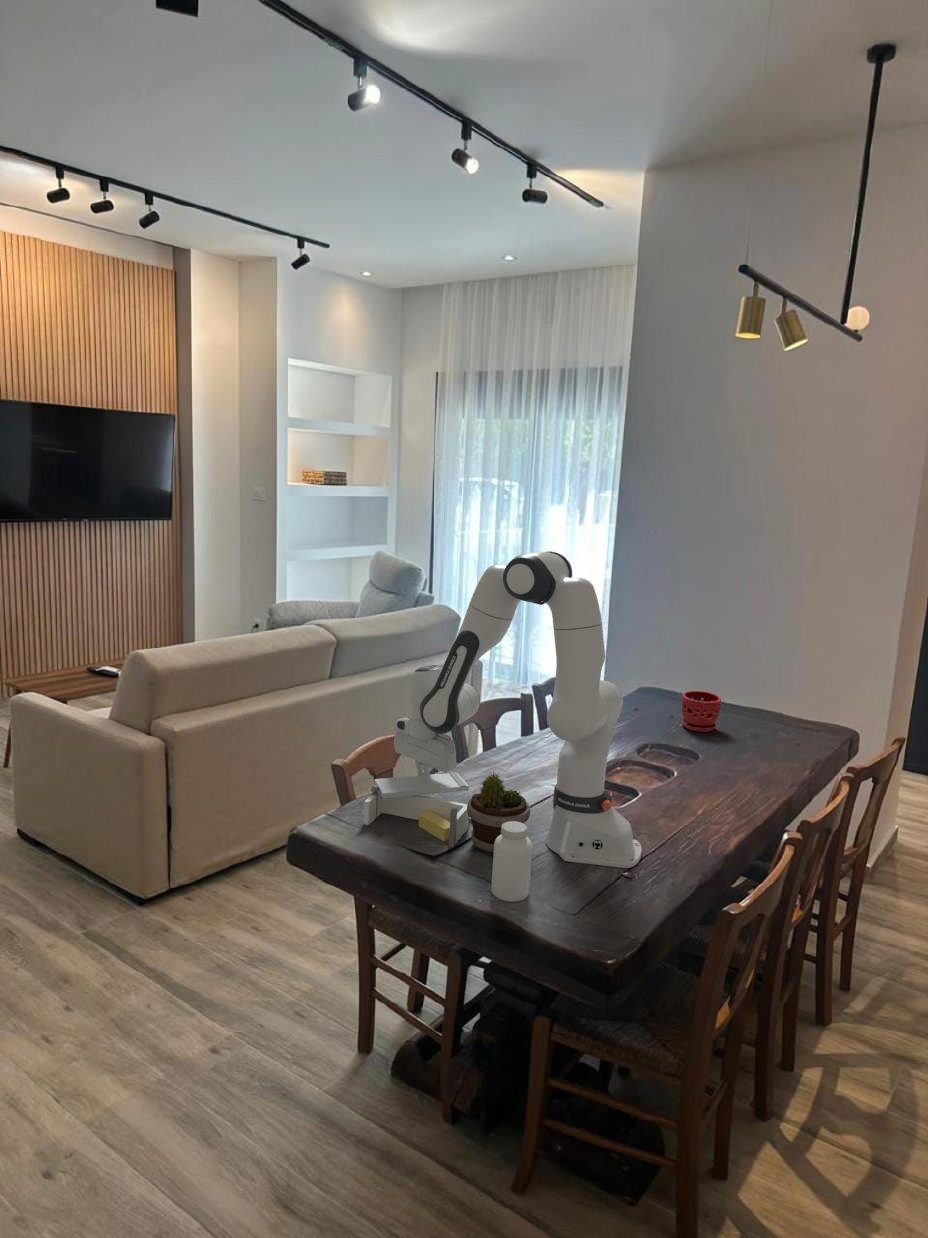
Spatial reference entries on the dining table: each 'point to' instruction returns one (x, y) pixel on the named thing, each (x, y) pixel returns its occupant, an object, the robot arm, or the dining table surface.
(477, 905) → the dining table surface
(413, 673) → the robot arm
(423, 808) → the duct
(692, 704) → the plant pot
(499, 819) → the flowerpot
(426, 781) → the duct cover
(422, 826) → the yellow rectangular block
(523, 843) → the pill bottle
